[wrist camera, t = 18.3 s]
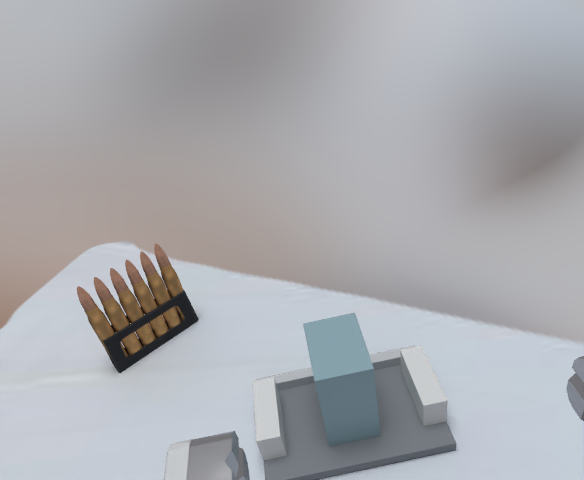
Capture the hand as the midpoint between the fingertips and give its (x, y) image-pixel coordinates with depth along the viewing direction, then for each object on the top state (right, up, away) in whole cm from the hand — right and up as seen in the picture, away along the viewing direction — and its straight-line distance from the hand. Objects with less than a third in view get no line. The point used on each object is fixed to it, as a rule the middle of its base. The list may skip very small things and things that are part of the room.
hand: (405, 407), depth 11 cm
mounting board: (+3, -12, +31) cm, 33 cm away
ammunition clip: (-19, -8, +43) cm, 48 cm away
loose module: (+2, -12, +30) cm, 33 cm away
